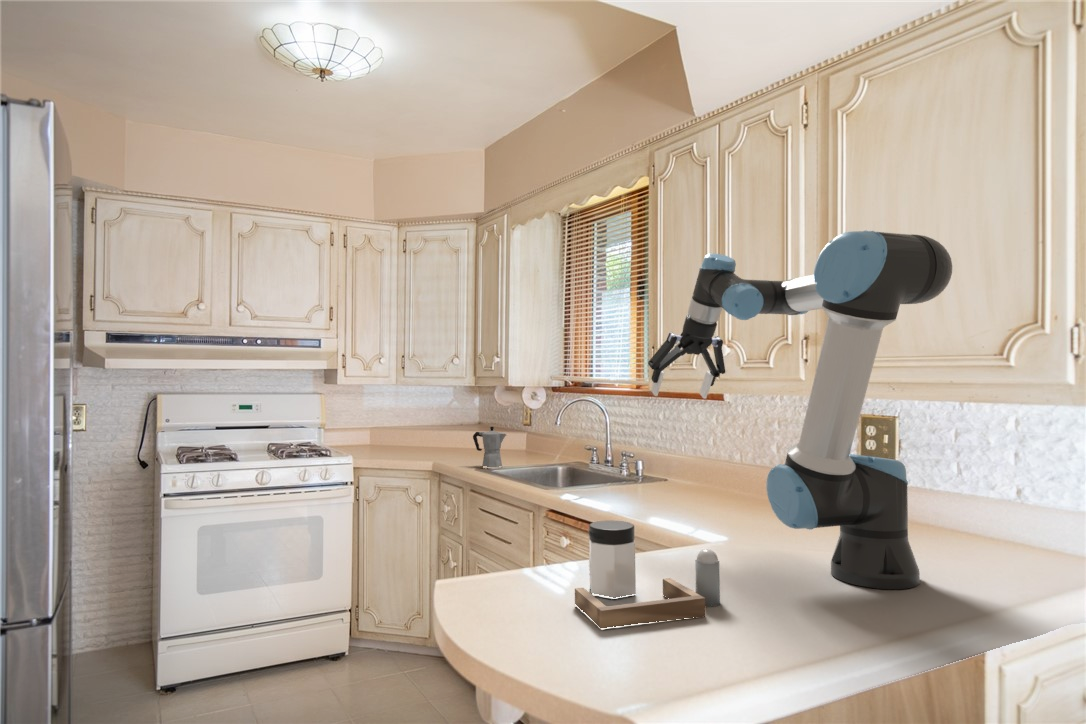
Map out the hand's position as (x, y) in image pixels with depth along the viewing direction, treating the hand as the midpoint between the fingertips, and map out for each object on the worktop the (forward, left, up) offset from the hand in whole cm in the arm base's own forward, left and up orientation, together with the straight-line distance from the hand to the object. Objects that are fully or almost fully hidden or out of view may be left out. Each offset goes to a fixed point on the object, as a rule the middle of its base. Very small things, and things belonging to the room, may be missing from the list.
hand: (678, 394), depth 169 cm
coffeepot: (+129, -41, -34) cm, 140 cm away
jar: (-21, +49, -34) cm, 63 cm away
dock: (-30, +53, -34) cm, 70 cm away
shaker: (-36, +42, -34) cm, 65 cm away
